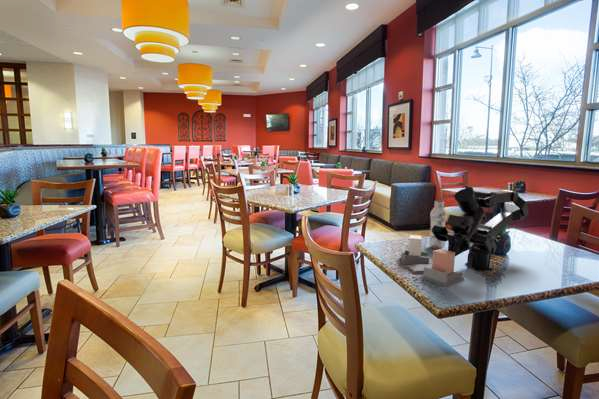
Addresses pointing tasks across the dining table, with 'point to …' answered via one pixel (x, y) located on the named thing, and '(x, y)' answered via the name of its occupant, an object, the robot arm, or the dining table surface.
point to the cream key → (415, 245)
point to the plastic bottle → (439, 219)
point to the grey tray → (429, 269)
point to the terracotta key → (443, 260)
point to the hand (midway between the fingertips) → (448, 258)
